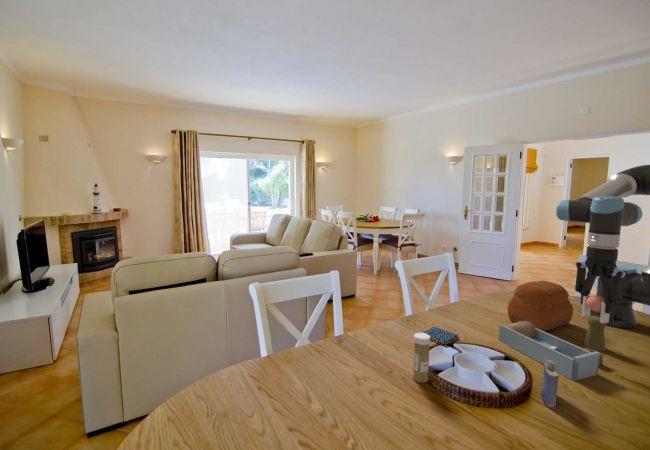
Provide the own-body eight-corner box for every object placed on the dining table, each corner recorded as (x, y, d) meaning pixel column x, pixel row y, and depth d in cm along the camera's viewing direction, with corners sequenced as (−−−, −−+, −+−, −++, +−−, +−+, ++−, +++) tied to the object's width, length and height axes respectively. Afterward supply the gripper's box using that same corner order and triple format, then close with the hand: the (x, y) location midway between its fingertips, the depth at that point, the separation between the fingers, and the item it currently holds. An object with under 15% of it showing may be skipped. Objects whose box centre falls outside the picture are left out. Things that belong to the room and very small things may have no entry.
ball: (593, 307, 109) (594, 292, 108) (609, 313, 104) (611, 297, 104) (581, 308, 108) (583, 293, 107) (598, 314, 103) (599, 299, 102)
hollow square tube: (590, 359, 110) (591, 349, 109) (602, 364, 107) (603, 354, 106) (583, 361, 109) (584, 351, 108) (595, 366, 106) (596, 356, 105)
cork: (609, 352, 115) (612, 321, 113) (589, 350, 116) (592, 319, 115) (598, 343, 121) (602, 314, 119) (579, 342, 122) (582, 313, 120)
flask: (556, 410, 85) (559, 370, 84) (542, 406, 87) (545, 367, 85) (552, 390, 93) (555, 354, 92) (539, 387, 95) (542, 351, 93)
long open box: (519, 336, 126) (520, 317, 125) (597, 374, 101) (600, 351, 100) (498, 340, 123) (500, 320, 122) (574, 381, 98) (577, 356, 97)
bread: (575, 325, 136) (579, 285, 134) (544, 336, 127) (548, 293, 124) (532, 311, 152) (535, 275, 150) (502, 319, 142) (504, 281, 140)
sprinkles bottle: (428, 384, 96) (430, 340, 94) (411, 381, 97) (413, 337, 95) (428, 375, 100) (430, 333, 98) (412, 373, 101) (414, 331, 100)
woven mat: (445, 348, 118) (446, 343, 117) (419, 338, 126) (419, 333, 125) (460, 339, 124) (460, 334, 124) (434, 330, 132) (434, 325, 132)
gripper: (565, 242, 111) (558, 309, 114) (626, 253, 94) (617, 332, 97) (582, 241, 113) (575, 307, 116) (645, 251, 96) (635, 329, 99)
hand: (594, 318), depth 106 cm, fingers closed on ball, 5 cm apart
